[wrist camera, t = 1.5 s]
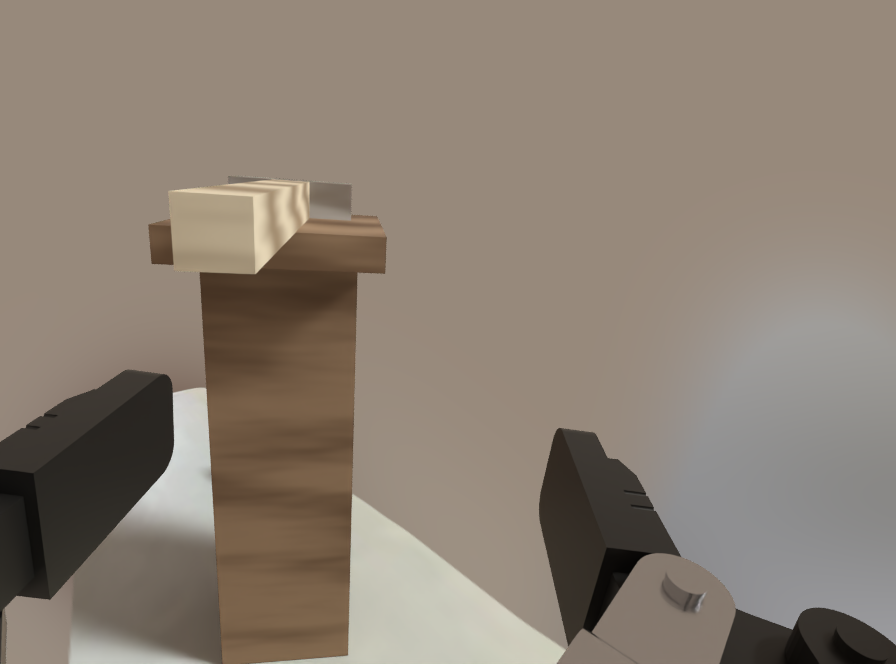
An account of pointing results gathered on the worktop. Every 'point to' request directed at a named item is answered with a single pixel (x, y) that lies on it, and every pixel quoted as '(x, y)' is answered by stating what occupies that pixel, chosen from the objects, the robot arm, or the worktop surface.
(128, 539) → the worktop surface
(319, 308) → the stand
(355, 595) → the worktop surface
